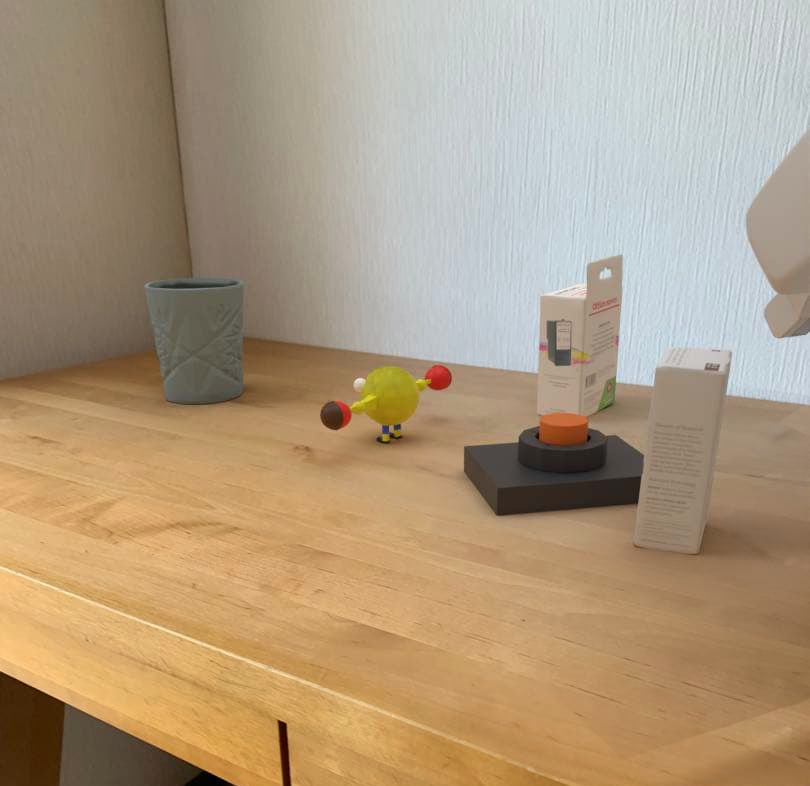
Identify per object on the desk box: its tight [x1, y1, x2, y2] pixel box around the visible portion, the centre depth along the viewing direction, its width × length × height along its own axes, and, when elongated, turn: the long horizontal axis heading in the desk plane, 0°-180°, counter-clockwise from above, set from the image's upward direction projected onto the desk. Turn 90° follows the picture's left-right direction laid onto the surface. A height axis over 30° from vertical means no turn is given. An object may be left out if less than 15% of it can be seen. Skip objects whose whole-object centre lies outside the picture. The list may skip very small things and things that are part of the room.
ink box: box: [536, 253, 624, 418], centre depth 86 cm, size 9×5×15 cm, turn 144°
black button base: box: [463, 425, 644, 517], centre depth 67 cm, size 13×10×4 cm
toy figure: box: [319, 364, 453, 445], centre depth 79 cm, size 18×6×7 cm, turn 145°
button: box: [539, 413, 589, 445], centre depth 66 cm, size 4×4×2 cm
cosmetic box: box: [633, 347, 733, 555], centre depth 56 cm, size 6×4×12 cm
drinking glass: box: [143, 277, 245, 405], centre depth 95 cm, size 10×10×12 cm
